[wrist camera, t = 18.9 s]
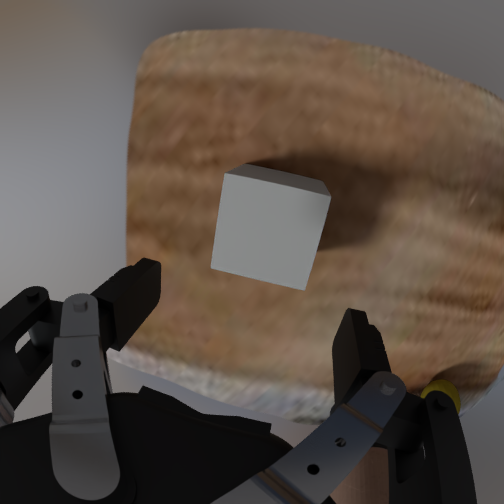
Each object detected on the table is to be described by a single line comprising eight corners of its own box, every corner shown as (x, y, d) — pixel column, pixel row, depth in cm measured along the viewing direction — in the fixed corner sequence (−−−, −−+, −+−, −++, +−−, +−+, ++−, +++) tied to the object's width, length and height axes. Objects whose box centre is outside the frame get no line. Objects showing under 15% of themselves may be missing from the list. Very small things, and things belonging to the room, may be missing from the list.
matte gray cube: (323, 180, 23) (331, 196, 17) (304, 253, 26) (304, 290, 20) (244, 163, 24) (224, 172, 18) (231, 236, 27) (210, 268, 20)
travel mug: (352, 428, 35) (355, 545, 17) (316, 413, 35) (308, 544, 16) (392, 403, 32) (410, 530, 14) (357, 385, 32) (368, 533, 13)
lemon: (410, 379, 30) (424, 427, 23) (447, 361, 28) (467, 406, 21) (417, 400, 32) (429, 443, 24) (451, 383, 30) (467, 425, 22)
